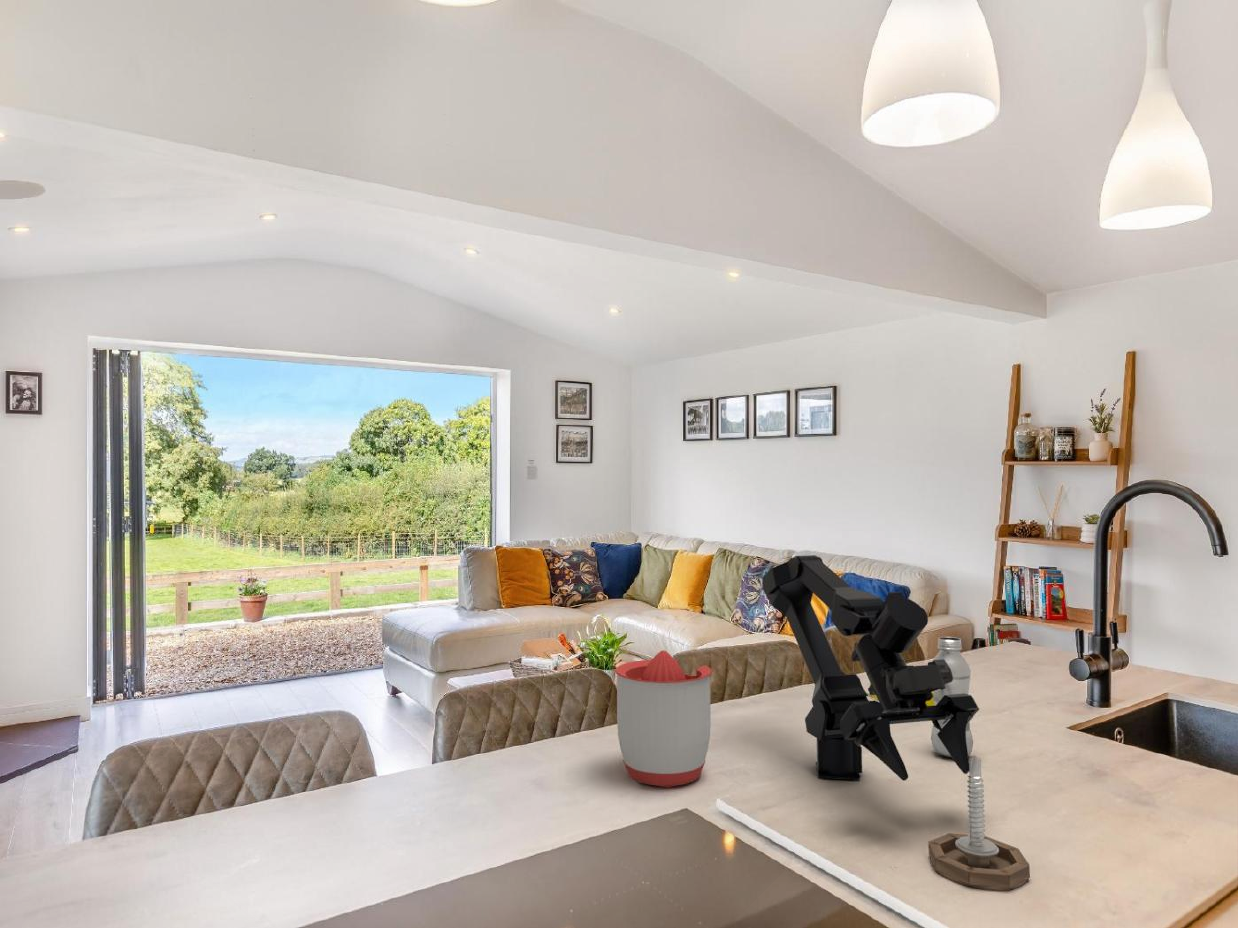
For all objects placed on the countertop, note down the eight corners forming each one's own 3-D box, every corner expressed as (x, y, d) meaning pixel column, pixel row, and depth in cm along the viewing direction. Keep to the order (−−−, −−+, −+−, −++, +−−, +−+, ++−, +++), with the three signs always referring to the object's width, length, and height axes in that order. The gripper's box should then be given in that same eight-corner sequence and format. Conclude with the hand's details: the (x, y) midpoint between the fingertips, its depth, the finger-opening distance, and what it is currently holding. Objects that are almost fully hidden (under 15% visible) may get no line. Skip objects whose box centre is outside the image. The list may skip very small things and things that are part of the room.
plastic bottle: (977, 763, 131) (975, 642, 132) (934, 760, 132) (932, 641, 133) (968, 750, 137) (966, 635, 138) (927, 748, 139) (925, 634, 139)
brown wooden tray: (940, 885, 91) (940, 869, 91) (923, 844, 101) (922, 830, 101) (1039, 894, 88) (1039, 878, 89) (1011, 851, 99) (1011, 837, 99)
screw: (946, 858, 96) (977, 851, 98) (977, 876, 92) (1008, 869, 94) (944, 751, 97) (974, 746, 99) (974, 764, 92) (1006, 758, 94)
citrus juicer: (738, 770, 128) (737, 647, 129) (671, 802, 115) (669, 665, 116) (664, 749, 139) (663, 636, 139) (595, 776, 126) (595, 650, 127)
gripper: (849, 642, 106) (898, 752, 95) (968, 635, 110) (1029, 739, 99) (821, 686, 113) (864, 793, 102) (934, 678, 118) (986, 779, 107)
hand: (936, 775), depth 102 cm, fingers open, 9 cm apart
